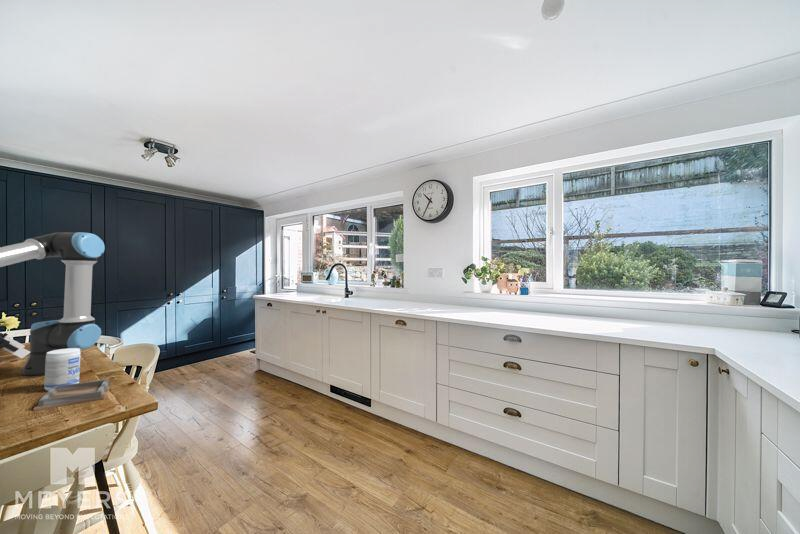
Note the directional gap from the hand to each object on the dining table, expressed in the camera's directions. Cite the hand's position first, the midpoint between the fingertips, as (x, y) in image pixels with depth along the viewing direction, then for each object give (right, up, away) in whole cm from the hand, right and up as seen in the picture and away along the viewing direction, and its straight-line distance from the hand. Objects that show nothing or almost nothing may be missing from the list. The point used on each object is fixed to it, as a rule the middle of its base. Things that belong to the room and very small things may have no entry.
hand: (23, 352), depth 114 cm
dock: (+20, -17, 0) cm, 26 cm away
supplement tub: (+5, -17, +8) cm, 19 cm away
